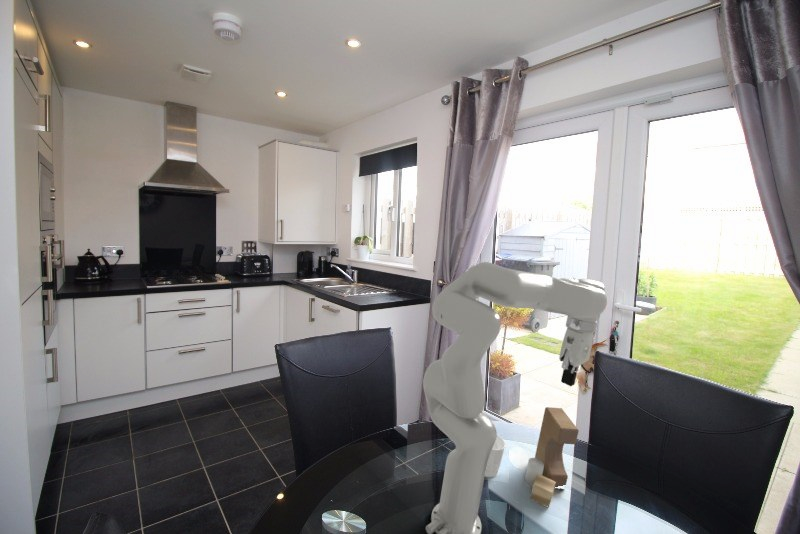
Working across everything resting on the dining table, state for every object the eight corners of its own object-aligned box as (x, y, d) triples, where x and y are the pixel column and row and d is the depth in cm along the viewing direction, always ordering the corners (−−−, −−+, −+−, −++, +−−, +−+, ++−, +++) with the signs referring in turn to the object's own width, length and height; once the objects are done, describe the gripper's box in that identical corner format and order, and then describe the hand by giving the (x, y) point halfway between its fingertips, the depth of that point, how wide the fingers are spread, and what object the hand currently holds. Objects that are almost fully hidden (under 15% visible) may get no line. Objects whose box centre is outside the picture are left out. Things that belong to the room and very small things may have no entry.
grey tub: (535, 488, 114) (539, 470, 112) (522, 479, 117) (525, 461, 116) (543, 481, 117) (546, 464, 115) (529, 472, 120) (533, 455, 119)
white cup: (468, 462, 121) (473, 434, 119) (489, 458, 124) (494, 430, 122) (483, 481, 114) (488, 451, 112) (505, 476, 117) (510, 447, 115)
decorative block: (565, 490, 114) (579, 430, 110) (546, 489, 114) (560, 428, 110) (550, 463, 125) (563, 407, 121) (533, 462, 125) (544, 406, 120)
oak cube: (548, 508, 107) (552, 492, 106) (530, 498, 110) (533, 483, 109) (552, 496, 111) (555, 481, 110) (534, 488, 114) (537, 473, 113)
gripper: (583, 333, 101) (568, 397, 105) (605, 323, 111) (591, 382, 115) (555, 323, 106) (542, 384, 110) (579, 315, 116) (566, 371, 120)
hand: (567, 383), depth 113 cm, fingers closed
